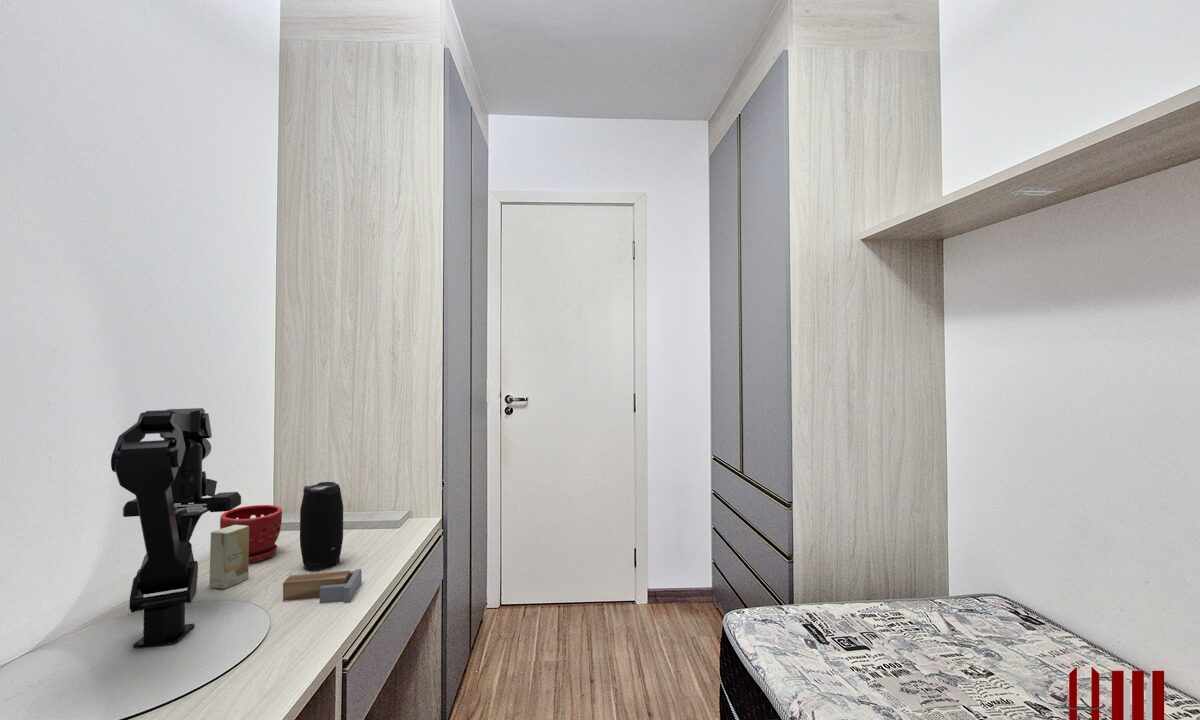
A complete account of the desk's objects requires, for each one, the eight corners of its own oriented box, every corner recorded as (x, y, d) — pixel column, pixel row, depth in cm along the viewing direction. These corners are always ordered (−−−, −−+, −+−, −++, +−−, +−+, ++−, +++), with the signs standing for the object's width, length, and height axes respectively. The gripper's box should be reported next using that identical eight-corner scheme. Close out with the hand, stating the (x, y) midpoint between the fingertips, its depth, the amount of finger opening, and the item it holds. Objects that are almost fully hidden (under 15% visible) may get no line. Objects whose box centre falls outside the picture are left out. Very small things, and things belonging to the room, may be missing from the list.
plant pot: (208, 570, 125) (209, 519, 125) (235, 550, 138) (235, 505, 138) (269, 565, 128) (269, 516, 128) (289, 547, 140) (290, 502, 141)
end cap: (349, 602, 108) (349, 587, 108) (318, 604, 107) (318, 590, 107) (361, 582, 118) (361, 568, 118) (332, 584, 116) (332, 571, 116)
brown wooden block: (345, 596, 111) (345, 577, 111) (282, 602, 108) (282, 583, 108) (350, 588, 115) (350, 570, 115) (290, 594, 112) (290, 575, 112)
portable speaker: (346, 565, 127) (346, 485, 127) (302, 575, 122) (302, 491, 122) (339, 555, 134) (339, 479, 134) (297, 564, 128) (297, 484, 128)
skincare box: (225, 589, 114) (225, 533, 114) (208, 588, 115) (208, 532, 115) (250, 578, 120) (250, 524, 120) (234, 576, 121) (234, 523, 121)
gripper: (252, 460, 117) (252, 530, 117) (156, 464, 113) (156, 536, 113) (228, 470, 106) (228, 547, 106) (121, 474, 102) (120, 554, 102)
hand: (184, 545), depth 107 cm, fingers closed
